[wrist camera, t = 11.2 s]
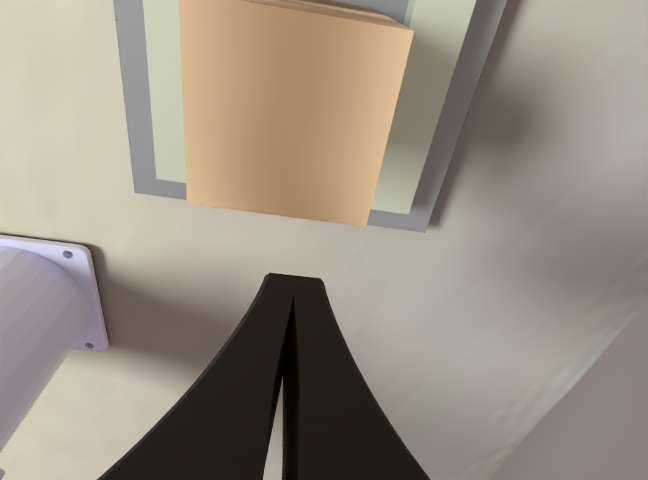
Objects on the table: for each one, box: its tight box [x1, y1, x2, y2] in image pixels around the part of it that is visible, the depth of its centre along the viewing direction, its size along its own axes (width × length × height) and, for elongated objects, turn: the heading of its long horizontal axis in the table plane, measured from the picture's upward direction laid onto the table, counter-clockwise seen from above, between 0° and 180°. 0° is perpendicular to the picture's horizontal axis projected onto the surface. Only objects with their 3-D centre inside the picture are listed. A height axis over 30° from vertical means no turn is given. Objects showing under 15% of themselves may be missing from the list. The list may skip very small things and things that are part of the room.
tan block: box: [178, 0, 414, 227], centre depth 12 cm, size 4×4×8 cm
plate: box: [113, 0, 507, 233], centre depth 15 cm, size 14×14×2 cm
